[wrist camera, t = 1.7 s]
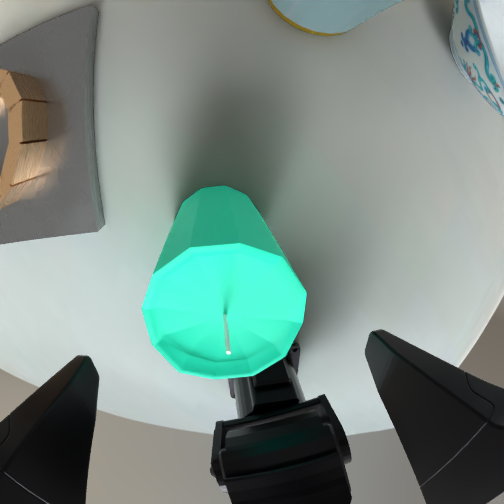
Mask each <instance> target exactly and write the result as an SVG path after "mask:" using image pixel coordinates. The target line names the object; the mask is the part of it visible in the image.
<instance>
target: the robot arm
mask: <svg viewBox="0 0 504 504" xmlns="http://www.w3.org/2000/svg"><path fill="white" fill-rule="evenodd" d="M293 348H295V349H293ZM299 356H300V346H299V344H298V343H292V345H291V347H290V349H289V351H288V353H287V354H286V356H285V357H284V358H282V359H281V360H279V361H277V362H276V363H274V364H273V365H271V366H269V367H268V368H266V369H264V370H263V371H261V372H259V373H257V374H256V375H254V376H248V377H238V378H229V386H230V394H231V397H232V398H235V399H236V407H237V414H238V419H233V420H228V421H223V420H222V421H217V422H216V427H215V430H214V437H213V447H212V457H211V468H210V473H211V475H212V476H214V477H215V478H216V479H217V482H218V484H219V486H220V488H221V489H222V490H223V492H226V493H227V492H228V494H229V497H230V499H231V502H232V504H350V503H351V499H352V496H351V493H350V492H351V488H350V484H349V480H348V476H347V472H346V469H345V465H344V464H347V463H350V462H351V452H350V447H349V444H348V440H347V438H346V435H345V432H344V430H343V427H342V425H341V423H340V421H339V420H338V418H337V416H336V414H335V412H334V410H333V409H332V407H331V405H330V403H329V401H328V399H327V398H326V396H325V394H323V395H320V396H318V397H317V398H314V399H311V400H308V401H306V400H305V397H304V394H303V392H302V389H301V386H300V383H299V380H298V378H297V373H298V364H299ZM365 356H366V359H367V362H368V365H369V367H370V370H371V373H372V376H373V379H374V382H375V384H376V387H377V390H378V393H379V395H380V397H381V399H382V401H383V404H384V406H385V408H386V410H387V412H388V414H389V416H390V419H391V421H392V423H393V425H394V427H395V429H396V431H397V434H398V436H399V438H400V440H401V443H402V445H403V447H404V450H405V452H406V454H407V457H408V459H409V461H410V464H411V466H412V468H413V471H414V473H415V475H416V478H417V481H418V483H419V486H420V489H421V491H422V494H423V496H424V499H425V501H426V504H504V389H503V388H501V387H498V386H495V385H493V384H491V383H488V382H486V381H484V380H481V379H479V378H477V377H475V376H473V375H471V374H469V373H467V372H464V371H463V370H461V369H459V368H457V367H455V366H453V365H451V364H449V363H447V362H445V361H443V360H441V359H439V358H437V357H435V356H434V355H432V354H430V353H428V352H426V351H424V350H422V349H420V348H418V347H416V346H414V345H412V344H410V343H408V342H406V341H404V340H402V339H400V338H398V337H396V336H394V335H392V334H391V333H389V332H387V331H385V330H382V329H380V330H375V331H372V332H371V333H370V334H369V338H368V341H367V345H366V348H365ZM98 387H99V374H98V372H97V370H96V368H95V366H94V364H93V362H92V360H91V358H90V357H89V356H84V355H78V356H76V357H75V358H74V359H73V360H71V361H70V362H69V363H68V364H67V365H66V366H64V367H63V368H62V369H61V370H60V371H58V372H57V373H56V374H55V375H54V376H53V377H51V378H50V379H49V380H48V381H47V382H46V383H44V384H43V385H42V386H41V387H40V388H39V389H37V390H36V391H35V392H34V393H33V394H32V395H31V396H29V397H28V398H27V399H26V400H25V401H24V402H23V403H22V404H20V405H19V406H18V407H17V408H16V409H15V410H14V411H12V412H11V413H10V415H8V416H7V417H6V418H5V419H3V421H1V422H0V504H86V503H85V502H86V489H87V478H88V468H89V460H90V453H91V446H92V439H93V432H94V427H95V421H96V410H97V398H98Z"/></svg>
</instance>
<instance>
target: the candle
mask: <svg viewBox="0 0 504 504" xmlns="http://www.w3.org/2000/svg"><path fill="white" fill-rule="evenodd" d="M306 296H307V292H306V290H305V289H304V287H303V285H302V283H301V282H300V280H299V278H298V277H297V275H296V273H295V271H294V270H293V268H292V266H291V265H290V263H289V261H288V260H287V258H286V256H285V254H284V253H283V251H282V249H281V248H280V246H279V244H278V243H277V241H276V239H275V238H274V236H273V234H272V233H271V231H270V229H269V228H268V226H267V224H266V223H265V221H264V219H263V218H262V216H261V214H260V213H259V211H258V210H257V209H256V207H255V206H254V204H253V203H252V201H251V200H250V199H249V197H248V196H247V195H246V194H244V193H242V192H240V191H237V190H235V189H233V188H231V187H228V186H226V185H223V186H214V187H205V188H201V189H199V190H198V191H197V192H195V193H194V194H193V195H191V196H190V197H189V198H187V199H186V200H185V201H183V203H182V205H181V207H180V209H179V212H178V214H177V216H176V219H175V221H174V223H173V226H172V228H171V230H170V233H169V235H168V238H167V240H166V242H165V245H164V247H163V250H162V252H161V255H160V257H159V260H158V262H157V265H156V268H155V270H154V273H153V276H152V279H151V281H150V284H149V287H148V290H147V293H146V296H145V300H144V303H143V306H142V312H143V316H144V319H145V323H146V326H147V330H148V333H149V336H150V340H151V343H152V345H153V346H154V347H155V348H156V349H157V350H158V351H159V353H160V354H161V355H162V356H163V357H164V358H165V359H166V360H167V361H168V362H169V363H170V364H171V365H172V366H173V367H174V368H175V369H176V370H177V371H178V372H179V373H184V374H189V375H194V376H200V377H205V378H211V379H226V378H238V377H248V376H254V375H256V374H257V373H259V372H261V371H263V370H264V369H266V368H268V367H269V366H271V365H273V364H274V363H276V362H277V361H279V360H281V359H282V358H284V357H285V356H286V354H287V353H288V351H289V349H290V347H291V345H292V343H293V341H294V339H295V337H296V335H297V333H298V332H299V330H300V328H301V326H302V324H303V319H304V312H305V304H306Z"/></svg>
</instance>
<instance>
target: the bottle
mask: <svg viewBox="0 0 504 504" xmlns="http://www.w3.org/2000/svg"><path fill="white" fill-rule="evenodd" d="M268 1H269V3H270V5H271V7H272V8H273V10H274V11H275V12H276V13H277V14H278V15H279V16H280V17H281V18H282V19H283V20H285V21H286V22H288V23H289V24H291V25H292V26H294V27H296V28H298V29H300V30H303V31H305V32H308V33H311V34H316V35H323V36H332V35H340V34H343V33H345V32H347V31H349V30H351V29H353V28H355V27H356V26H358V25H359V24H361V23H363V22H364V21H366V20H368V19H370V18H371V17H373V16H375V15H376V14H378V13H380V12H382V11H384V10H385V9H387V8H389V7H391V6H393V5H395V4H397V3H399V2H401V1H403V0H268Z"/></svg>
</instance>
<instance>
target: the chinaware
mask: <svg viewBox="0 0 504 504" xmlns="http://www.w3.org/2000/svg"><path fill="white" fill-rule="evenodd" d="M449 42H450V48H451V51H452V55H453V57H454V60H455V62H456V64H457V66H458V68H459V69H460V71H461V73H462V74H463V75H464V77H465V78H466V79H467V80H468V81H469V82H470V83H472V84H473V85H474V86H475V87H476V88H477V90H478V91H479V92H480V94H481V95H482V96H483V97H484V98H485V99H486V101H487V102H488V103H489V104H490V105H491V106H492V107H493V108H494V109H495V110H496V111H497V112H499V113H500V114H501V115H502V116H504V0H455V2H454V5H453V10H452V28H451V30H450V35H449Z"/></svg>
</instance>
